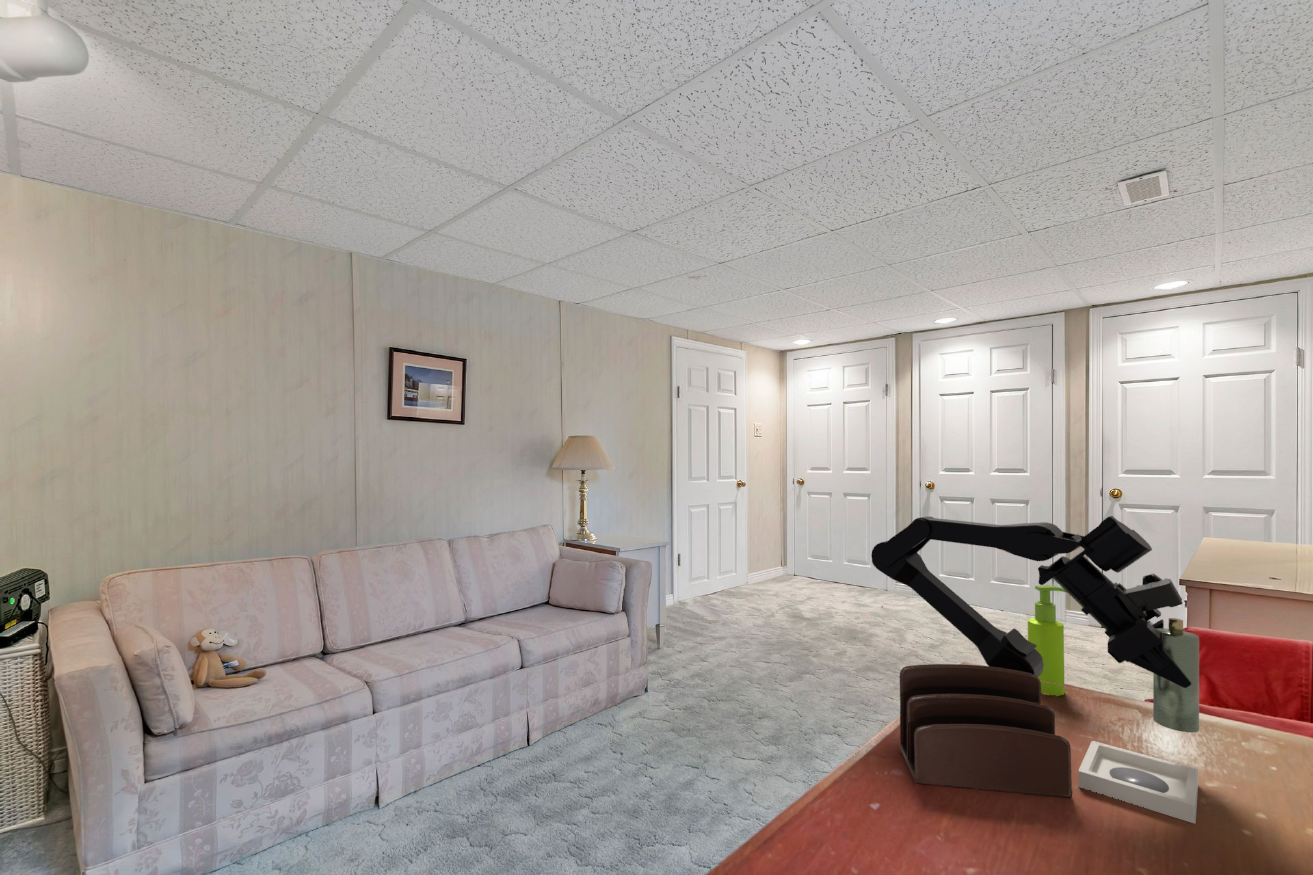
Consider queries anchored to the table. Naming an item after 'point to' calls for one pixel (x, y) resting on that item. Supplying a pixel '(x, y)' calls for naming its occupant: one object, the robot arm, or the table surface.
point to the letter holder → (981, 730)
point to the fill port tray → (1140, 780)
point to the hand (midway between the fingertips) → (1188, 680)
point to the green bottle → (1170, 699)
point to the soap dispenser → (1048, 641)
